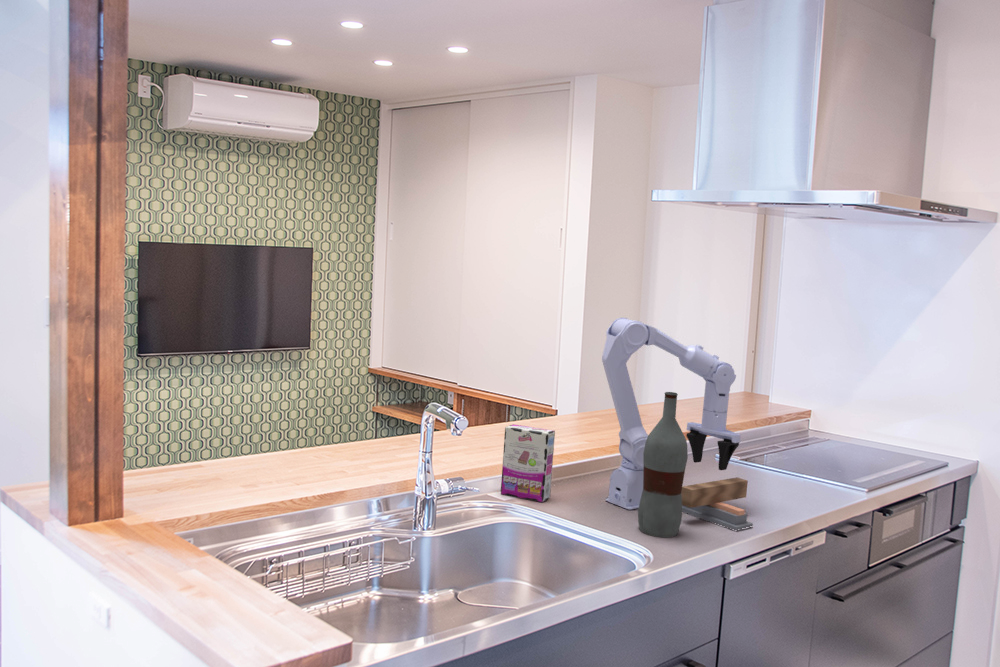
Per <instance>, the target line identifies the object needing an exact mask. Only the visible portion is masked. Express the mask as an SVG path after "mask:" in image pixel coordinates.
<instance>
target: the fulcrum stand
mask: <svg viewBox="0 0 1000 667" xmlns="http://www.w3.org/2000/svg"><path fill="white" fill-rule="evenodd" d="M684 512H685V514H687V513H688V514H687V515H690V516H692V515H693V517H695V518H697V519H700V518H701V519H700V520H703V519H704V521H706V520H707V521H706V522H708V521H710V522H709V523H711V522H713V523H712V524H714V523H716V524H715V525H717V524H719V525H722V526H725V527H728V528H731V529H734V530H738V529H742V528H746V527H750V526H754V523H753V522H750V521H747V520H748V513H746V509H743V508H740V507H737V506H734V505H731V504H728V503H725V502H719V503H714V504H708V505H703V506H698V507H693V508H689V507H686V506H684V505H682V513H684ZM719 525H718V526H719ZM722 526H721V527H722ZM725 527H724V528H725Z"/></svg>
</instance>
